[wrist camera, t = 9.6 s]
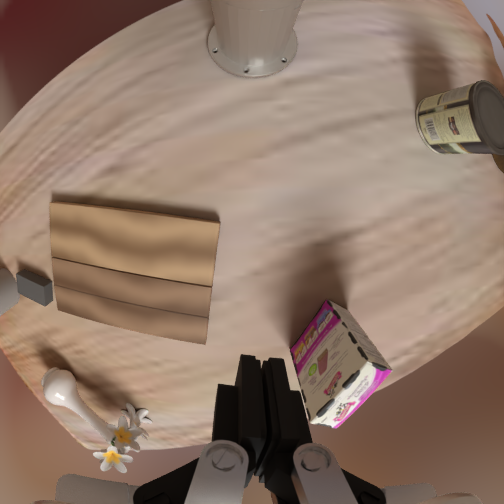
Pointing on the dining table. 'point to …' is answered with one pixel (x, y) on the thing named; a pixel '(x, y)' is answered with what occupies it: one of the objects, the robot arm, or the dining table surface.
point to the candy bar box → (336, 366)
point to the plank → (135, 241)
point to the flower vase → (97, 419)
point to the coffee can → (463, 120)
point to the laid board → (133, 300)
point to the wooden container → (499, 161)
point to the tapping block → (34, 287)
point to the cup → (7, 291)
